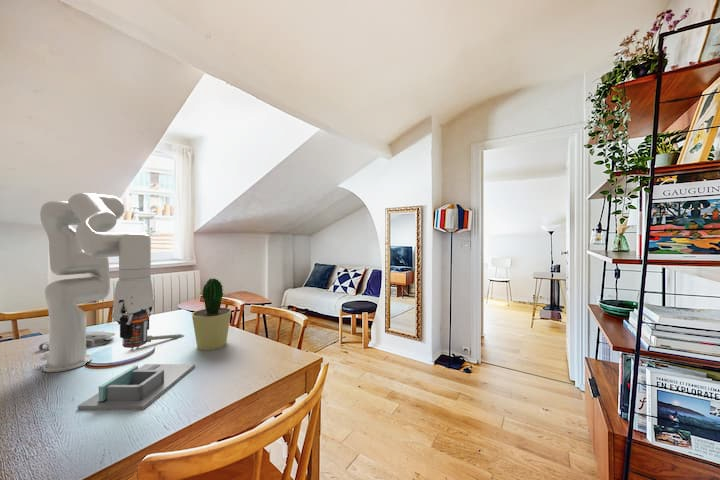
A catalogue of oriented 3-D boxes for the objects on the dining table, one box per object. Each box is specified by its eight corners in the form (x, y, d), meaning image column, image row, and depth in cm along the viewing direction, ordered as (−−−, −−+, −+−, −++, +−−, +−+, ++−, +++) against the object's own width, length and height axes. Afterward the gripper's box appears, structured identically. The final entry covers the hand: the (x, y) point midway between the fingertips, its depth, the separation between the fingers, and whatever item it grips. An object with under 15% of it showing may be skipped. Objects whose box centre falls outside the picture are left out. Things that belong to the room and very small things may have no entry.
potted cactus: (187, 344, 125) (187, 276, 125) (224, 336, 136) (225, 273, 135) (196, 355, 114) (196, 281, 114) (236, 346, 124) (236, 277, 124)
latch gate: (98, 400, 80) (98, 386, 80) (134, 377, 93) (134, 365, 93) (103, 400, 80) (103, 386, 80) (138, 377, 93) (137, 365, 93)
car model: (55, 342, 127) (55, 331, 127) (120, 337, 134) (120, 327, 134) (35, 352, 116) (35, 340, 116) (107, 346, 123) (107, 335, 123)
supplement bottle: (119, 350, 82) (119, 311, 82) (125, 343, 87) (125, 306, 87) (145, 346, 85) (145, 308, 85) (149, 339, 90) (149, 304, 90)
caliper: (131, 350, 119) (131, 335, 119) (130, 349, 120) (130, 334, 120) (184, 336, 136) (184, 323, 136) (183, 336, 136) (183, 323, 136)
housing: (77, 409, 79) (77, 391, 79) (145, 366, 104) (145, 353, 104) (143, 409, 79) (143, 391, 79) (195, 366, 105) (195, 353, 104)
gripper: (143, 270, 94) (143, 324, 95) (96, 278, 77) (96, 344, 77) (166, 270, 95) (166, 324, 95) (124, 278, 77) (124, 344, 78)
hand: (135, 333), depth 86 cm, fingers closed on supplement bottle, 6 cm apart
